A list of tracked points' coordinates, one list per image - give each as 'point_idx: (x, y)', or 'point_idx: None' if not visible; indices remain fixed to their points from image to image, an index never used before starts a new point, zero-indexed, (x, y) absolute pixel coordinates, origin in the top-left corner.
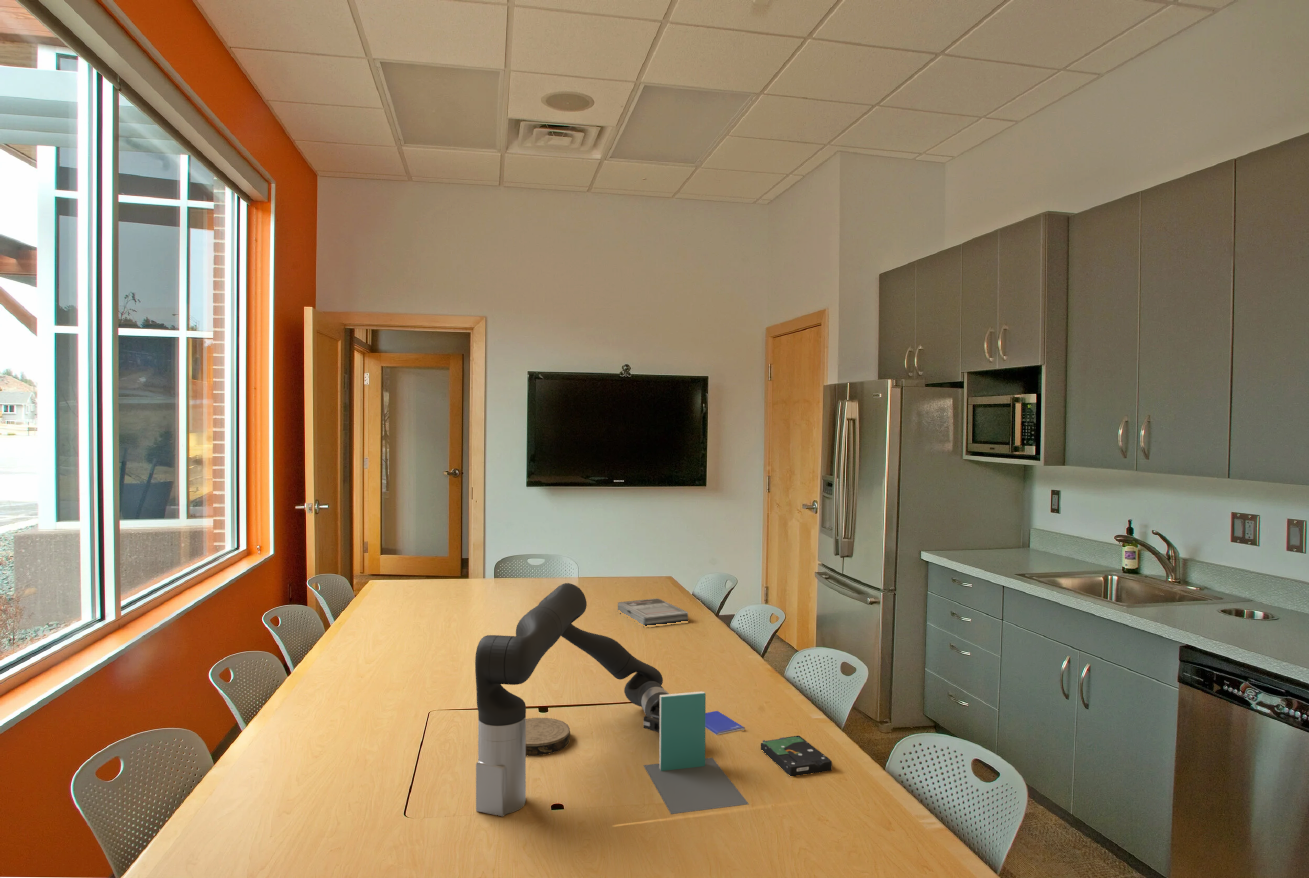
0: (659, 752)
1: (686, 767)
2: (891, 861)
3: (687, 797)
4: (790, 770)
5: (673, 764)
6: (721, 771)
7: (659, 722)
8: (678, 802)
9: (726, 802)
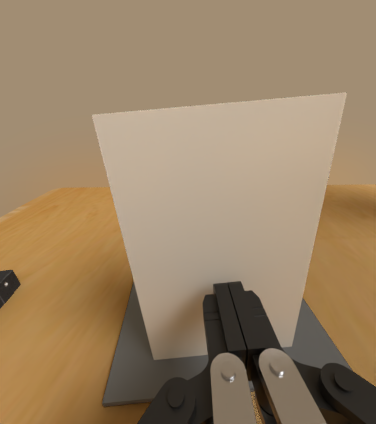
0: (298, 312)
1: None
2: (96, 189)
3: None
4: (15, 275)
5: None
6: (131, 306)
7: (366, 381)
8: None
9: None
